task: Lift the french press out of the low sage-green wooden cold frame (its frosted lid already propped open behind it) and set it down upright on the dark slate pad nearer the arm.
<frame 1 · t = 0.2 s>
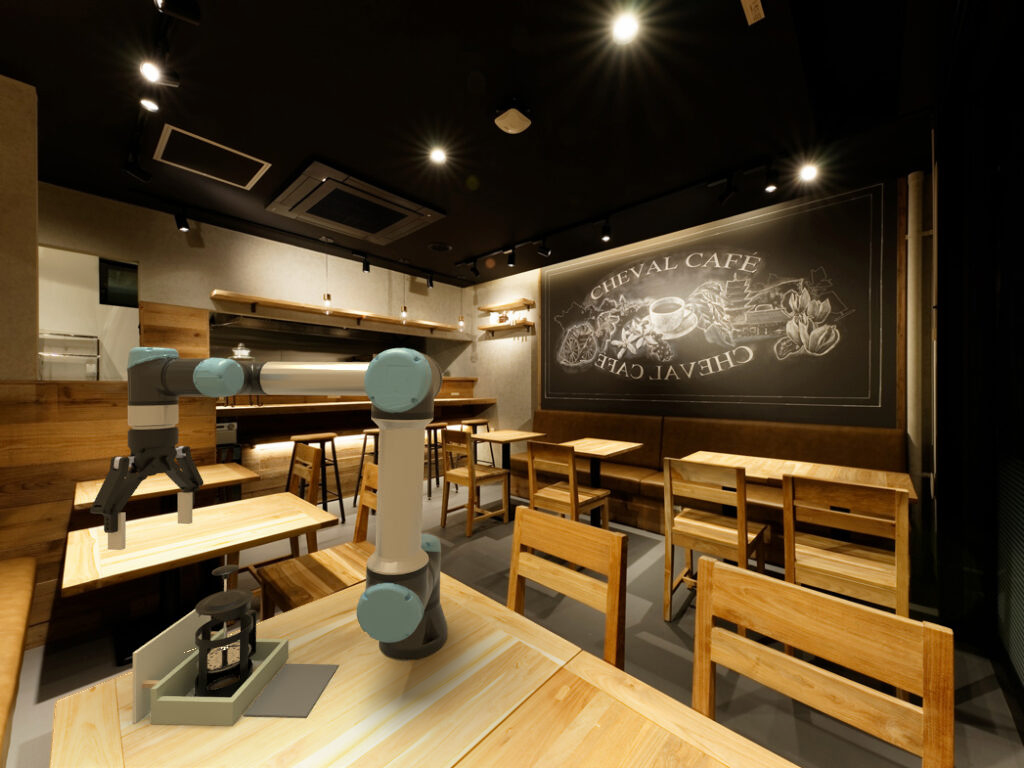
hand: (153, 535, 81), 28 cm above the table, fingers open, 13 cm apart
cold frame: (226, 687, 78), on the table
french press: (226, 688, 78), resting in cold frame
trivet: (294, 689, 78), on the table
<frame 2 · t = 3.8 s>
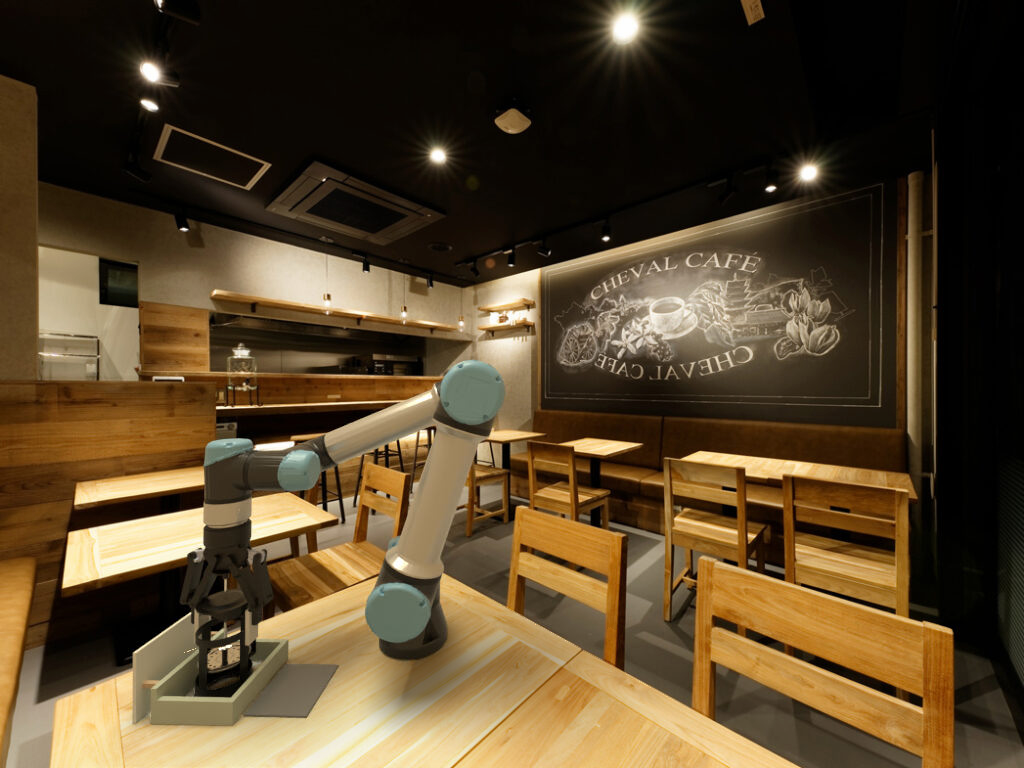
hand: (226, 640, 78), 9 cm above the table, fingers closed on french press, 9 cm apart
french press: (226, 688, 78), resting in cold frame, touching gripper
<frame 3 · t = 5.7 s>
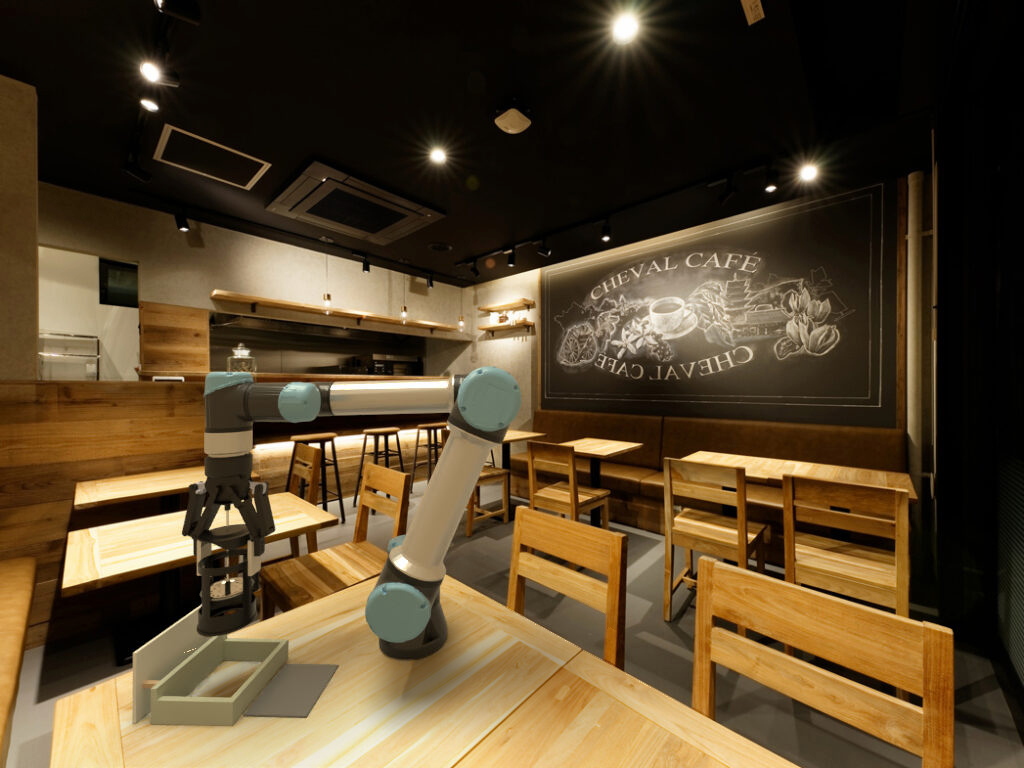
hand: (229, 572, 78), 22 cm above the table, fingers closed on french press, 9 cm apart
french press: (230, 620, 78), point 13 cm above the table, touching gripper
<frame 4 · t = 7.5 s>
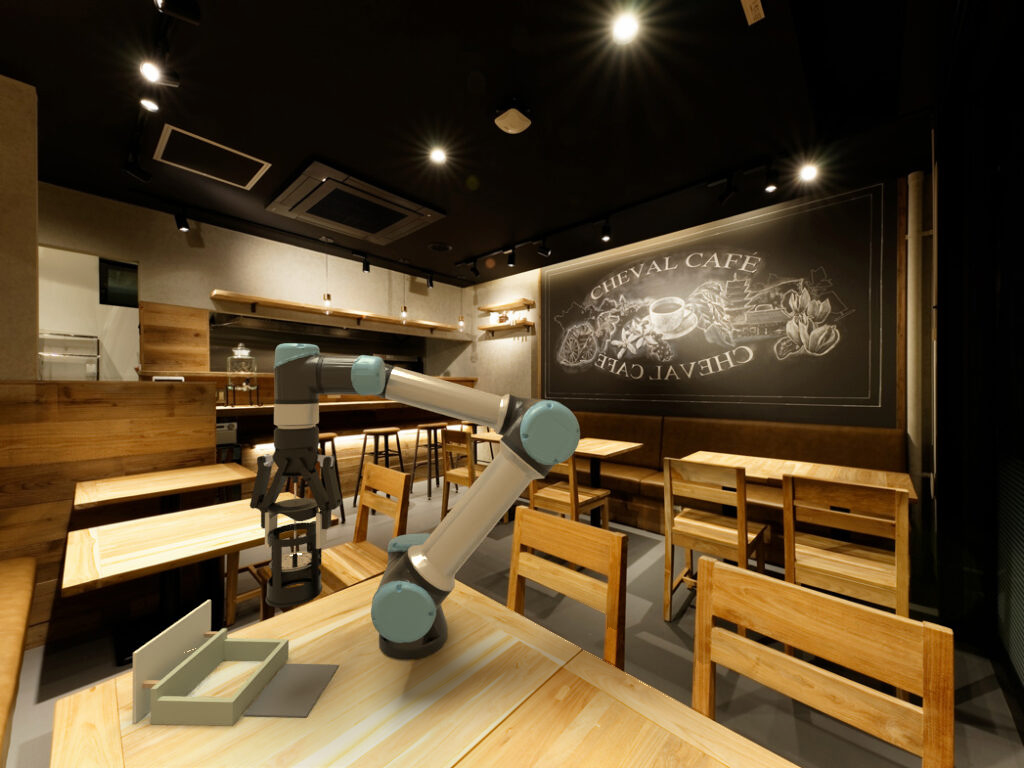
hand: (296, 545, 78), 27 cm above the table, fingers closed on french press, 9 cm apart
french press: (296, 593, 78), point 18 cm above the table, touching gripper
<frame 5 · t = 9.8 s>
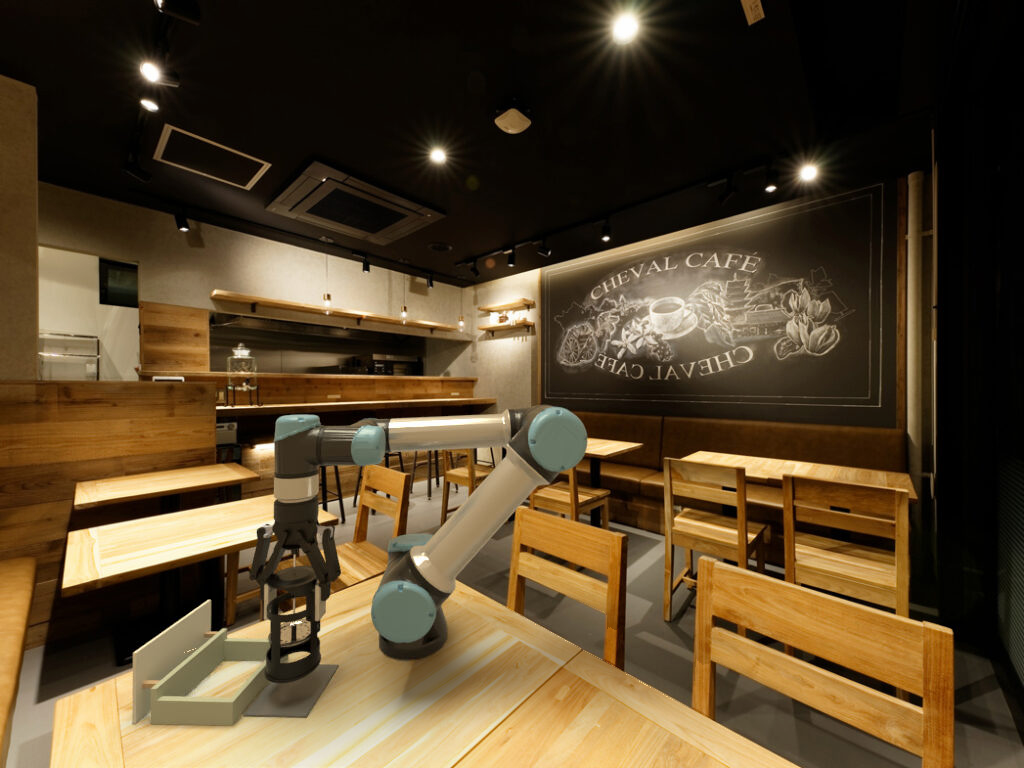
hand: (295, 616, 78), 14 cm above the table, fingers closed on french press, 9 cm apart
french press: (295, 664, 78), point 5 cm above the table, touching gripper
when the fingers open (11 cm above the table, at t = 11.4 s): french press drops 2 cm, resting on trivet.
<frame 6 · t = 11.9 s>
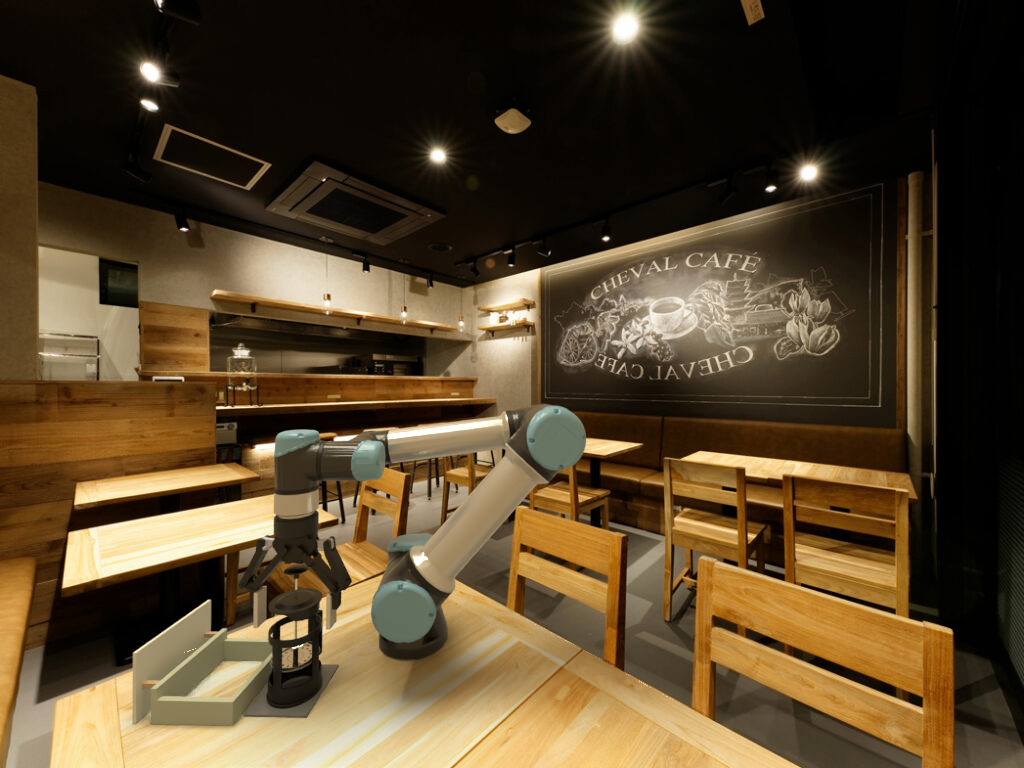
hand: (295, 624, 78), 12 cm above the table, fingers open, 13 cm apart
french press: (297, 688, 78), resting on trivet
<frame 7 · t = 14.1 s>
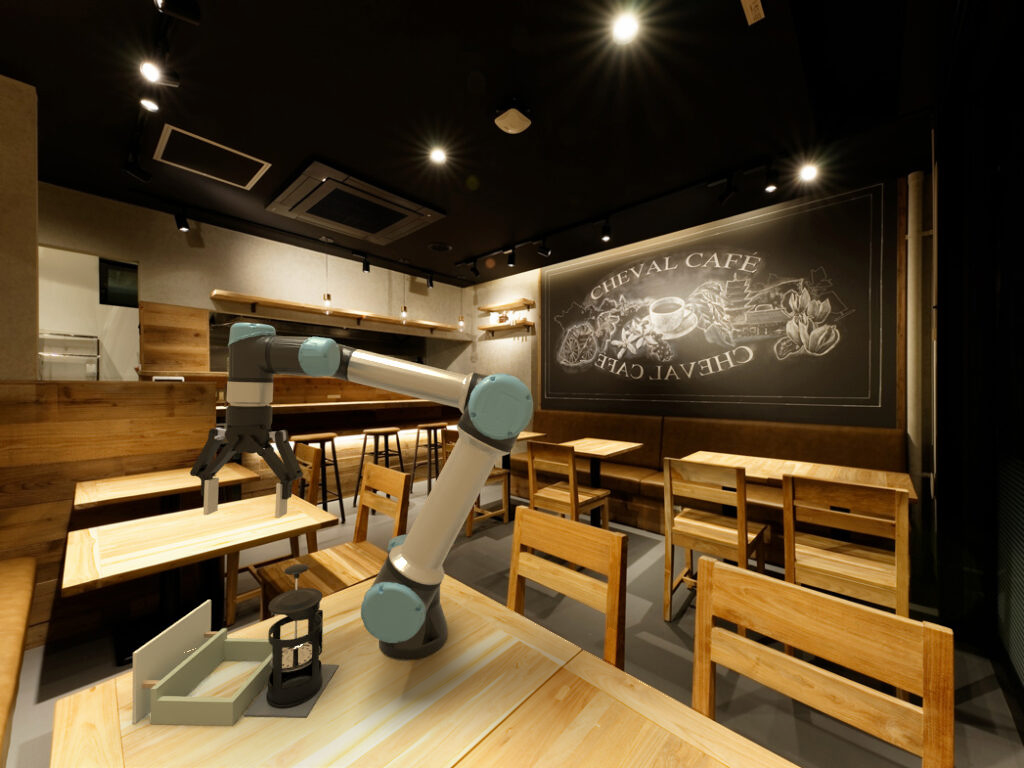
hand: (245, 514, 79), 32 cm above the table, fingers open, 13 cm apart
nothing on the table moved.
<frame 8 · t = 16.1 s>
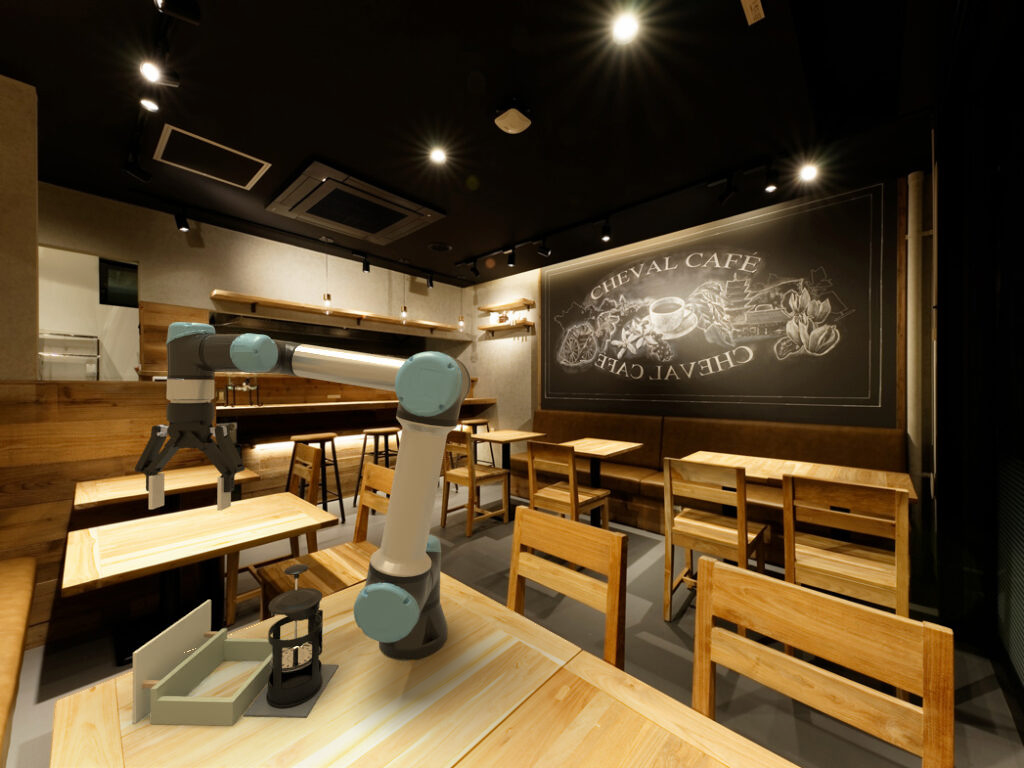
hand: (190, 508, 82), 33 cm above the table, fingers open, 13 cm apart
nothing on the table moved.
at the end: french press 0.4 cm from the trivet (horizontally); french press tilted 0°; french press touching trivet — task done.
